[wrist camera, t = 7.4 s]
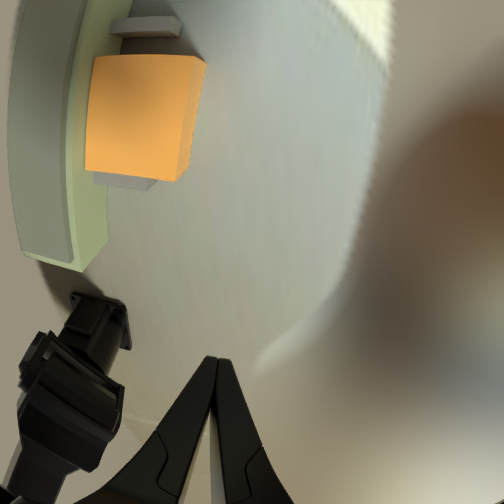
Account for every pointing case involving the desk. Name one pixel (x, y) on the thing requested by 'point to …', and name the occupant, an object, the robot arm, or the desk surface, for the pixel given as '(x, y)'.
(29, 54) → the sage green lidded box
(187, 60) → the amber cuboid
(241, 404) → the robot arm
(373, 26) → the desk surface
